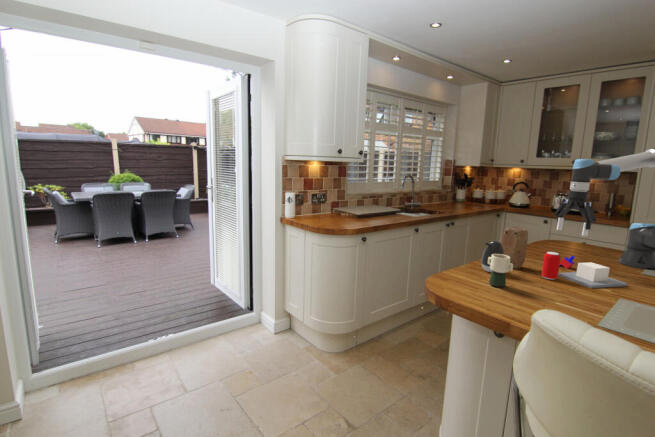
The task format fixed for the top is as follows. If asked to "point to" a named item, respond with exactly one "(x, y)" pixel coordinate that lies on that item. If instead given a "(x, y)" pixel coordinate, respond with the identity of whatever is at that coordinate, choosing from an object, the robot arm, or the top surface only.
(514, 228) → the block
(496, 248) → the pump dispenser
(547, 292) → the top surface
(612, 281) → the build base
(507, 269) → the character mug
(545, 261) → the beverage can
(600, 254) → the top surface
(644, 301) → the top surface
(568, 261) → the toy building block
